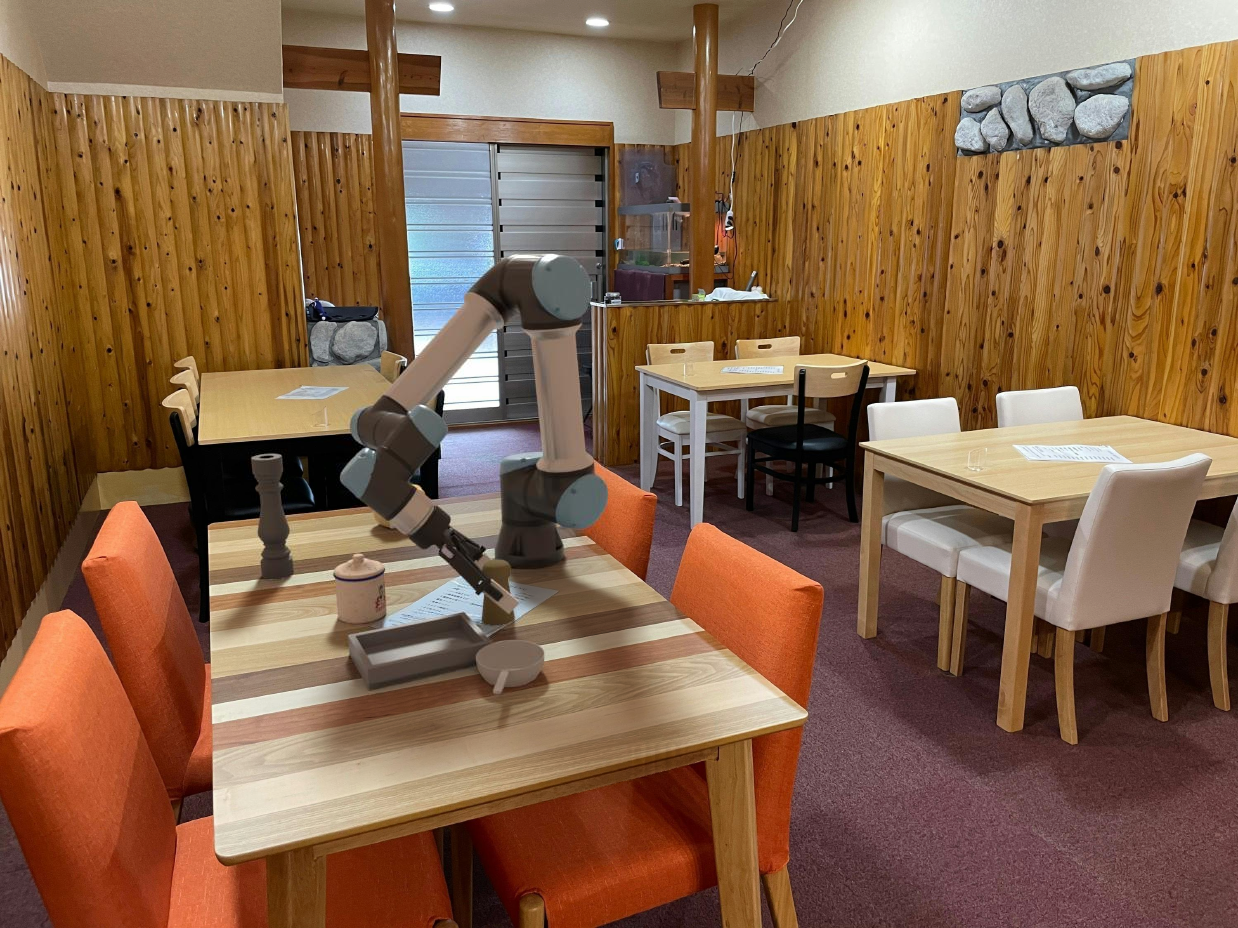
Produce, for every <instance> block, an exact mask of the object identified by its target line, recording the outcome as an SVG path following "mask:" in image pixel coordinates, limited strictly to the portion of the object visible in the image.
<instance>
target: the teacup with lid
mask: <svg viewBox="0 0 1238 928" xmlns="http://www.w3.org/2000/svg"><path fill="white" fill-rule="evenodd" d="M385 571H386V568H385V565H384V564H383V563H382V562H381V561H377V560H374V559H373V560H372V559H370V558H366V557H365V555H364V554H363V553H356V554H355V553H354V554H353V555H352V559H350V560H348V561H347V562H344V563H341V564H339V565H338V566H336V567H335V568H334V570H333V573H332V575H333V577H334V584H335V596H336V608H337V611H336V612H337V617H338V619H339V620H340V621H342V622H343V623H347V624H354V625H355V624H367V623H371V622H375V621H378V620H380V619H381V618H383V617H384V616H385V615H386V613H387V598H386V584H385V583H386V582H385V581H386V580H385V573H386V572H385Z"/></svg>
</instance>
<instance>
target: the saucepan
mask: <svg viewBox="0 0 1238 928" xmlns="http://www.w3.org/2000/svg"><path fill="white" fill-rule="evenodd" d="M476 662H477V666H476V667H477V670H478V671H479V674H480V675H481V677H482V678H483V679H484V680H485V682H487V683H488V684H490V685H492V686H494V688H493V690H492V693H493V694H494V695H500V694H502V693H503V690H504V688H515V687H517V688H518V687H521V686H524V685H528V684H529V682H530V683H531V681H532V682H533V681H534V680H536V679H537V678H538V676H539V674H540V673H541V671H542V669H543V667H544V663H545V650H544V649H543V647H542V646H540V645H539V644H537V643H534V642H531V641H529V640H528V641H527V640H521V639H510V640H509V639H508V640H501V641H496V642H492V644H489V645H487V646H485V647H483V648H482V649H480V650H479V651H478V653H477V654H476ZM527 683H528V684H527Z"/></svg>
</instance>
